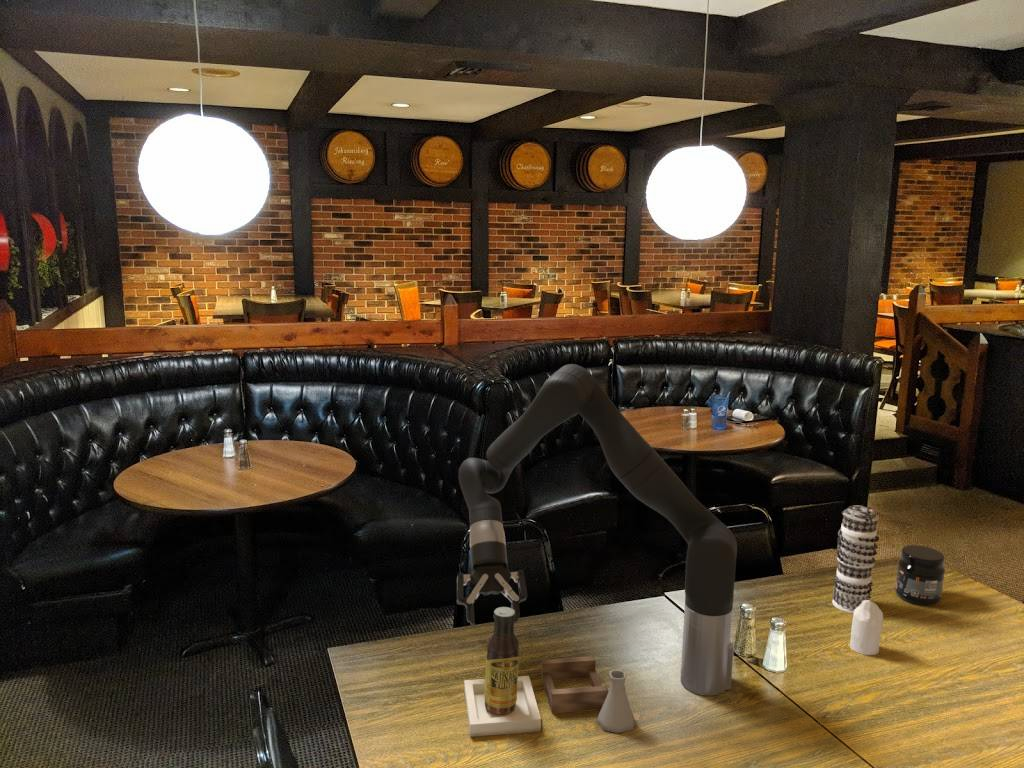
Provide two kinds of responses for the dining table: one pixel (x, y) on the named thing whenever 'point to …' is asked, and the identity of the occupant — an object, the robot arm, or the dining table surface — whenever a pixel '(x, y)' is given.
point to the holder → (573, 696)
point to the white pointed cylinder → (866, 628)
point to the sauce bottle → (502, 664)
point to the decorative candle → (855, 557)
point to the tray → (492, 724)
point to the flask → (616, 706)
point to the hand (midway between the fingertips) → (494, 623)
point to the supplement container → (920, 575)
